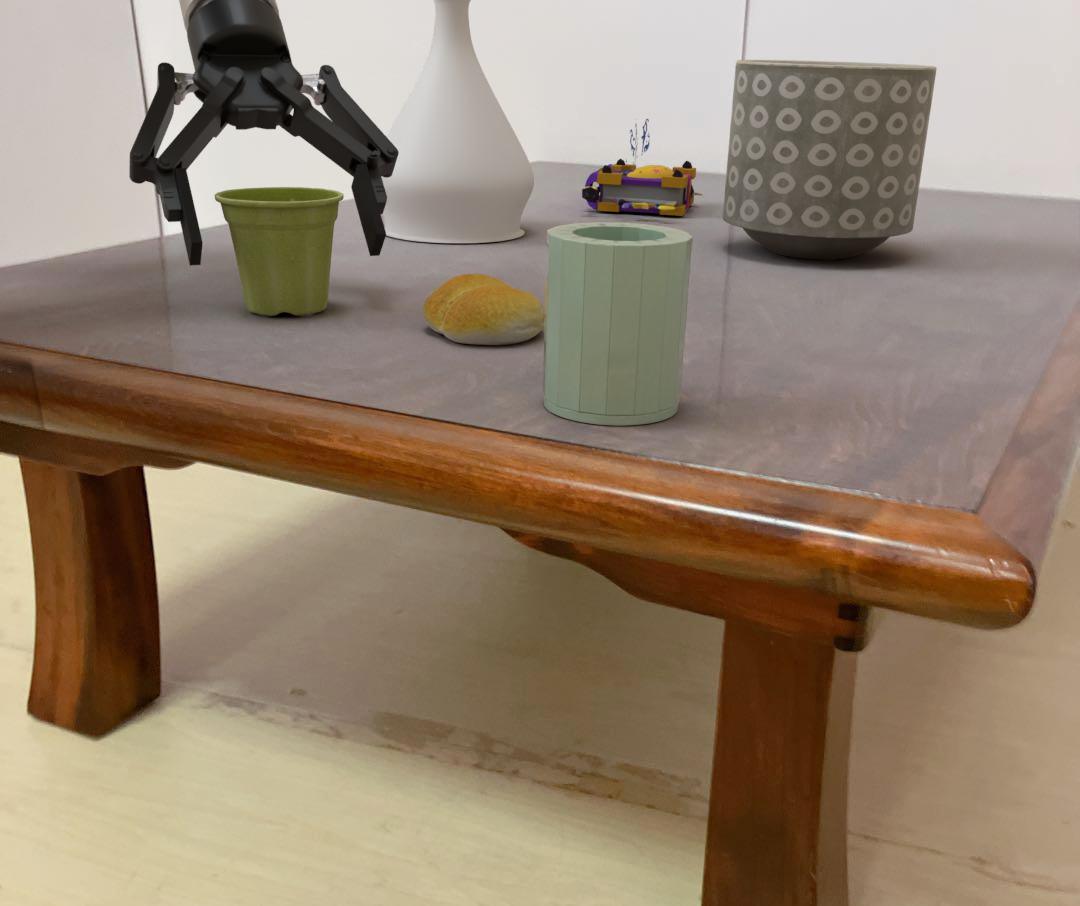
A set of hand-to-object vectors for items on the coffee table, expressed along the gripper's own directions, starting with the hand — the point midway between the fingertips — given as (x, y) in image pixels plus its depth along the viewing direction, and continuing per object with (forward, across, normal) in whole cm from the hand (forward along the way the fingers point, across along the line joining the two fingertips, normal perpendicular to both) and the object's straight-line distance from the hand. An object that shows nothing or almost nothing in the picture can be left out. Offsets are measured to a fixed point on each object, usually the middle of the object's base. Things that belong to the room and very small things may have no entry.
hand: (290, 250), depth 87 cm
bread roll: (+10, -12, +3) cm, 16 cm away
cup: (+24, -12, +17) cm, 32 cm away
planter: (-5, -57, -12) cm, 58 cm away
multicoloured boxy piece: (-29, -56, -36) cm, 73 cm away
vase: (-20, -26, -28) cm, 43 cm away
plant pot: (+2, 0, -5) cm, 5 cm away
